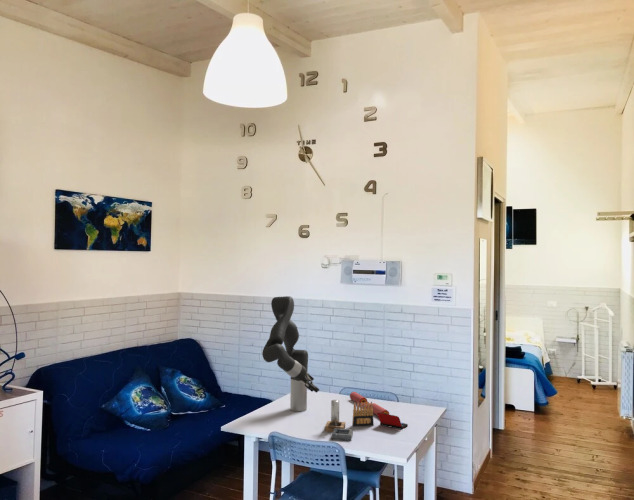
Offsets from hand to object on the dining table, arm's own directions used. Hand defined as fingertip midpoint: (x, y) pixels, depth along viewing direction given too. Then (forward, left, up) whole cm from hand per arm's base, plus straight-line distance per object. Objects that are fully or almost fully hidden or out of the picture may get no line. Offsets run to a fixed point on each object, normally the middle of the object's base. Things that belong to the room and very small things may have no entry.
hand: (315, 385), depth 270 cm
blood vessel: (-41, +24, -22) cm, 52 cm away
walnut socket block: (0, +10, -21) cm, 23 cm away
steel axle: (0, +10, -21) cm, 24 cm away
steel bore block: (+11, +15, -21) cm, 28 cm away
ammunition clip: (-9, +23, -21) cm, 33 cm away
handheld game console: (-11, +38, -22) cm, 45 cm away
